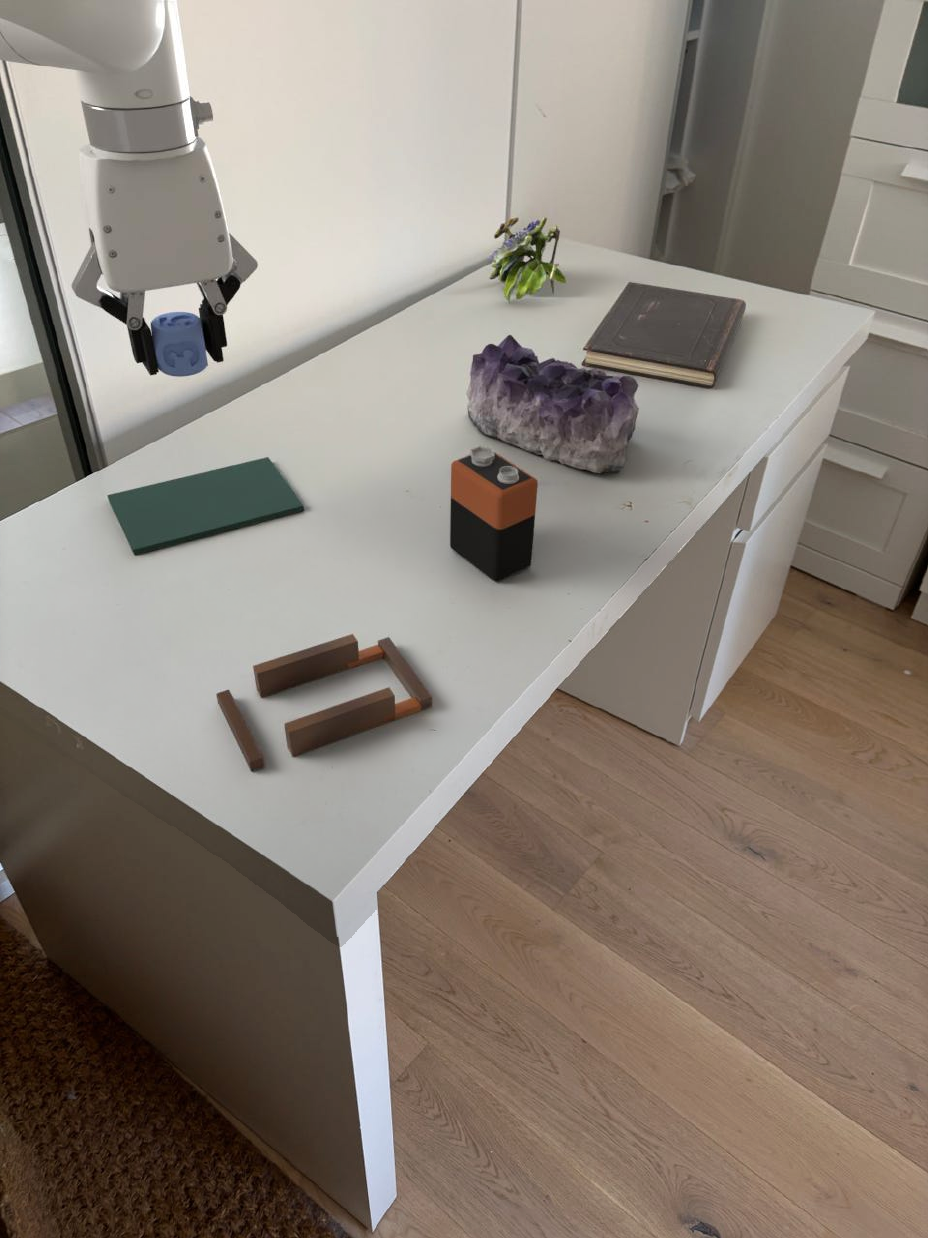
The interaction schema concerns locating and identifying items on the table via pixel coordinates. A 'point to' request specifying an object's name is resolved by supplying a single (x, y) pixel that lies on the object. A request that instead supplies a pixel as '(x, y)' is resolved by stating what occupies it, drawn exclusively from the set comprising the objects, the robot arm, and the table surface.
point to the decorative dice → (179, 344)
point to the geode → (552, 407)
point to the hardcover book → (666, 334)
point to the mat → (203, 504)
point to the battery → (492, 513)
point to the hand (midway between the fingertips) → (182, 359)
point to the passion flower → (512, 257)
